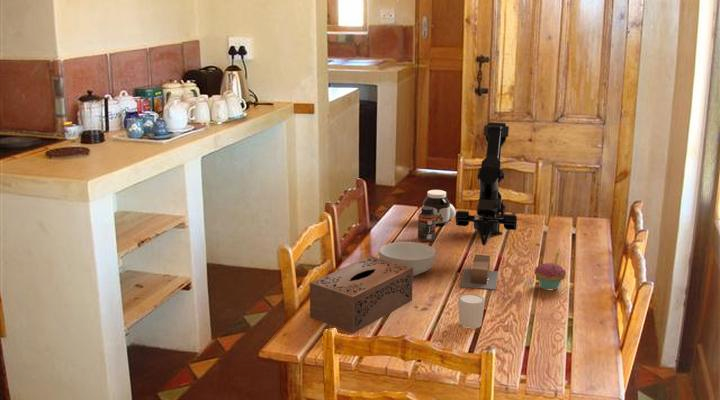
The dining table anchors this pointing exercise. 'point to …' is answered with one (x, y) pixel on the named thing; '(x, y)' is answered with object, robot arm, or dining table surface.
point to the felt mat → (490, 285)
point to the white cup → (471, 310)
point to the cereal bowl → (409, 255)
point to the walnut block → (480, 269)
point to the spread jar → (439, 206)
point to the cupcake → (550, 274)
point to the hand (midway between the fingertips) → (483, 244)
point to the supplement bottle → (426, 224)
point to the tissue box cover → (360, 293)
